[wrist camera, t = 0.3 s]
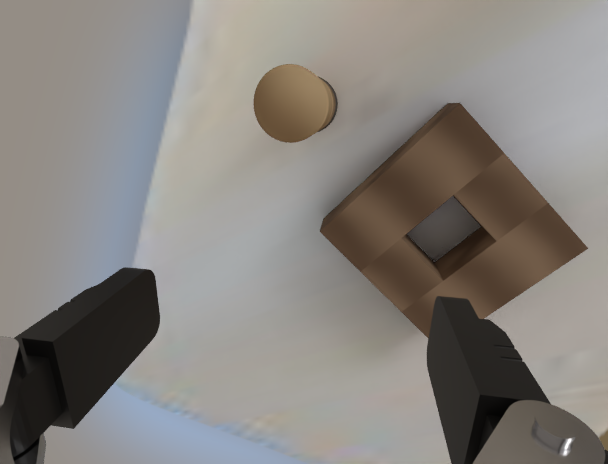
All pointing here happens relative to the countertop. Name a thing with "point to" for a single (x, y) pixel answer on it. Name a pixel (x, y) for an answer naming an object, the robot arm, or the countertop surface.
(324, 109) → the oak peg
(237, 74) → the countertop surface
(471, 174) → the walnut board
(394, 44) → the countertop surface
